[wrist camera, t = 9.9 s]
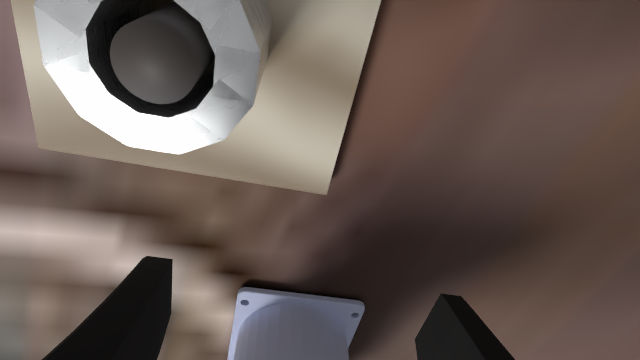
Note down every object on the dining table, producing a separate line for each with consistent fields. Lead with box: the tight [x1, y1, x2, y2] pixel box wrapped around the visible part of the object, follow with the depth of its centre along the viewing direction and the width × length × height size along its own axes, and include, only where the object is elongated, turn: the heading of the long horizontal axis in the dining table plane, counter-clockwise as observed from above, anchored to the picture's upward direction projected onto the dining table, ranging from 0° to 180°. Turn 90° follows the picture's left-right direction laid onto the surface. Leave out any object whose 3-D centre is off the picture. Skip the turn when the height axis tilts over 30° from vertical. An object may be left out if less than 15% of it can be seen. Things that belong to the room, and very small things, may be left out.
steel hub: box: [34, 0, 273, 154], centre depth 12 cm, size 6×6×5 cm
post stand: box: [11, 0, 381, 195], centre depth 13 cm, size 13×13×6 cm
